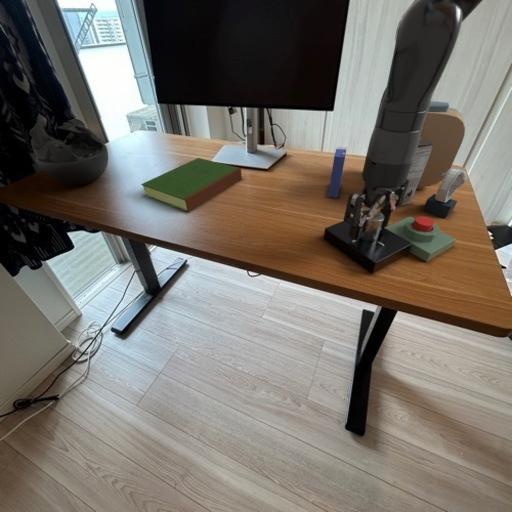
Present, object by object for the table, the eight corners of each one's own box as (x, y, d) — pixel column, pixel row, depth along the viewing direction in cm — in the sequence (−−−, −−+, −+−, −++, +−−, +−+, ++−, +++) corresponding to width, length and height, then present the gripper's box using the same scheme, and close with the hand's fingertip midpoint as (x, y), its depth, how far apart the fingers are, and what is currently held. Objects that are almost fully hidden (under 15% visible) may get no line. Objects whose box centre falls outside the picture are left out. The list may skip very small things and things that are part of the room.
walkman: (337, 198, 76) (345, 155, 69) (327, 196, 77) (334, 154, 69) (340, 186, 82) (347, 145, 74) (330, 185, 83) (337, 145, 75)
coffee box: (370, 193, 78) (386, 134, 68) (389, 189, 79) (407, 131, 69) (391, 208, 71) (412, 145, 61) (412, 203, 73) (435, 141, 62)
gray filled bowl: (129, 178, 92) (107, 118, 80) (70, 202, 80) (34, 135, 68) (98, 166, 102) (75, 110, 90) (42, 185, 90) (6, 125, 78)
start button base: (451, 247, 58) (460, 231, 56) (426, 262, 55) (434, 246, 52) (406, 223, 65) (412, 209, 63) (381, 235, 62) (386, 221, 60)
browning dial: (365, 227, 60) (370, 206, 56) (382, 236, 57) (389, 214, 53) (351, 234, 58) (356, 212, 54) (368, 244, 55) (375, 222, 52)
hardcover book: (188, 212, 73) (186, 200, 71) (144, 195, 82) (141, 184, 79) (243, 178, 89) (242, 167, 86) (201, 167, 97) (199, 157, 95)
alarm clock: (439, 180, 83) (473, 100, 69) (439, 193, 76) (476, 108, 62) (369, 170, 90) (387, 96, 76) (364, 181, 84) (382, 103, 70)
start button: (434, 229, 57) (437, 222, 56) (424, 234, 56) (427, 227, 55) (419, 221, 60) (422, 214, 59) (408, 226, 58) (411, 219, 57)
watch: (454, 209, 70) (475, 167, 63) (442, 221, 66) (463, 178, 59) (432, 201, 73) (449, 161, 66) (419, 212, 69) (436, 171, 62)
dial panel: (407, 254, 57) (413, 242, 55) (371, 274, 53) (375, 262, 51) (357, 224, 66) (359, 213, 64) (323, 238, 62) (324, 227, 60)
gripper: (398, 140, 51) (376, 214, 62) (343, 156, 46) (330, 234, 57) (436, 151, 46) (405, 229, 57) (379, 171, 41) (357, 253, 52)
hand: (367, 231), depth 57 cm, fingers open, 8 cm apart
